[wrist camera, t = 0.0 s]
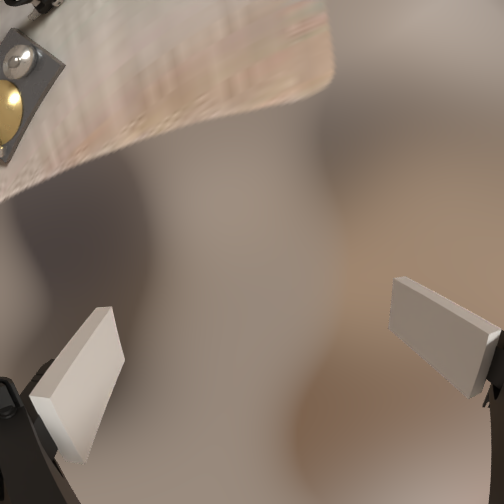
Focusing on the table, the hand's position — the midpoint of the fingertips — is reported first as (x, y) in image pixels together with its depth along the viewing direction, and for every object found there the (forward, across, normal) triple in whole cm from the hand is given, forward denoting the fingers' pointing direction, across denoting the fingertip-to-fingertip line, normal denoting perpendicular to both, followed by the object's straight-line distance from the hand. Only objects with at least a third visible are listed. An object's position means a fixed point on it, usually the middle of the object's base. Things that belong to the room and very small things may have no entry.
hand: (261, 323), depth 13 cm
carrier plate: (+22, -28, +22) cm, 42 cm away
